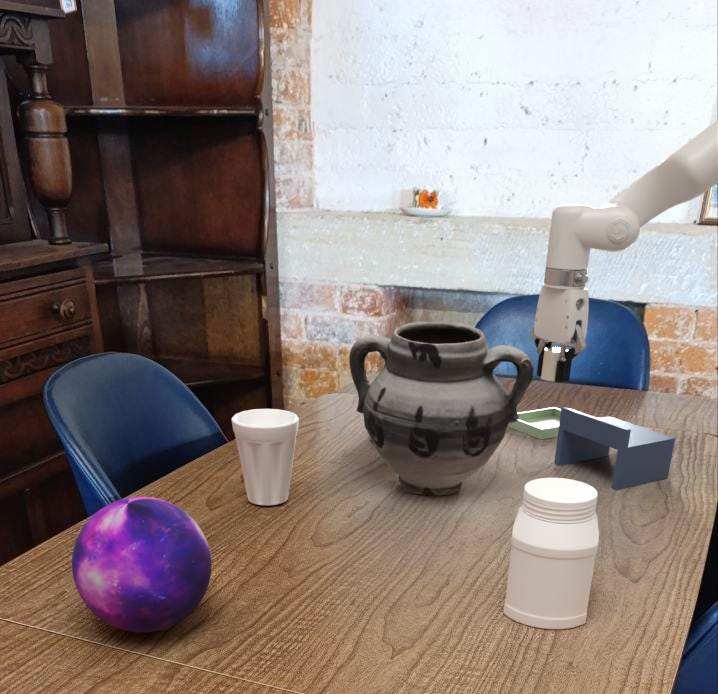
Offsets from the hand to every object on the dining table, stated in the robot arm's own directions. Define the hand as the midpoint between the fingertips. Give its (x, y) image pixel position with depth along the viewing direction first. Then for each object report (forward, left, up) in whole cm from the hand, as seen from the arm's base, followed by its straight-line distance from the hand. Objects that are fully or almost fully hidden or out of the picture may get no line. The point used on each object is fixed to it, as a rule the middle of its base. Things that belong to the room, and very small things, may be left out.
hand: (552, 377), depth 169 cm
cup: (+66, +10, -10) cm, 67 cm away
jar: (+52, +58, -10) cm, 79 cm away
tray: (0, 0, -10) cm, 10 cm away
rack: (+8, +25, -10) cm, 28 cm away
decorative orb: (+95, +39, -10) cm, 103 cm away
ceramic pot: (+40, +17, -10) cm, 45 cm away
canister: (0, 0, 0) cm, 0 cm away
